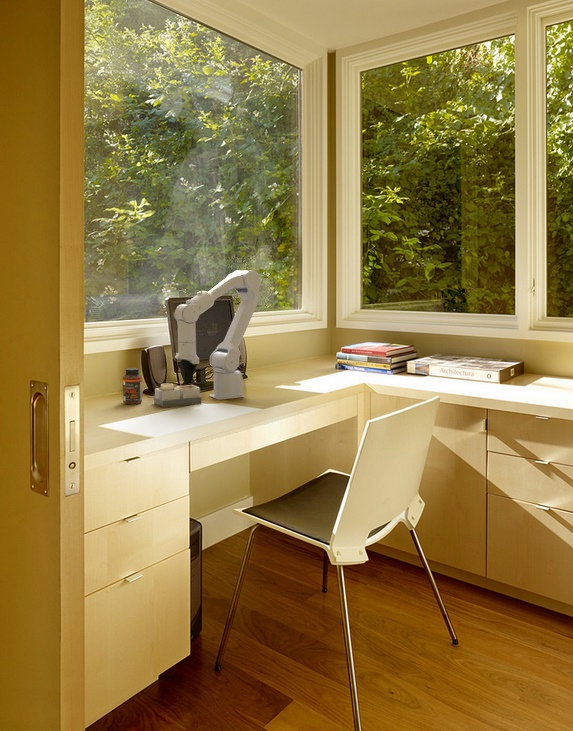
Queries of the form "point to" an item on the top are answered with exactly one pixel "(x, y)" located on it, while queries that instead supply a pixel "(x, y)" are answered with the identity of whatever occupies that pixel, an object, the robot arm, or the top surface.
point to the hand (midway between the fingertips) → (187, 383)
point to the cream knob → (167, 386)
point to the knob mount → (178, 396)
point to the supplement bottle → (132, 387)
